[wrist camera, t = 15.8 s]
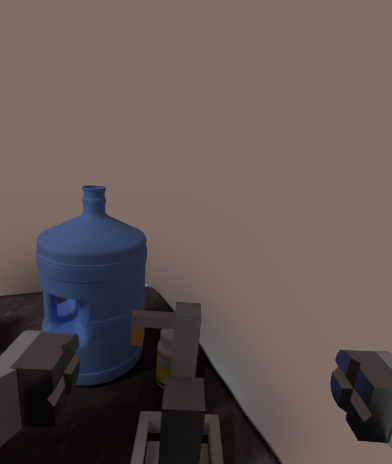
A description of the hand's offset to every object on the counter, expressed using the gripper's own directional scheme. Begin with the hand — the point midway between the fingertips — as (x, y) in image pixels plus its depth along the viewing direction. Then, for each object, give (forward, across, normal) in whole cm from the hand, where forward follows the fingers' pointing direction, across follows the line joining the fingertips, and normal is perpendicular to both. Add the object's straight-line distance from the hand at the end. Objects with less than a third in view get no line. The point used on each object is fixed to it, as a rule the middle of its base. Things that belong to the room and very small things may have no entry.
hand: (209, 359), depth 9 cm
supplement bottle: (+29, +1, +28) cm, 41 cm away
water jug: (+34, +14, +28) cm, 47 cm away
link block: (+15, 0, +28) cm, 32 cm away
